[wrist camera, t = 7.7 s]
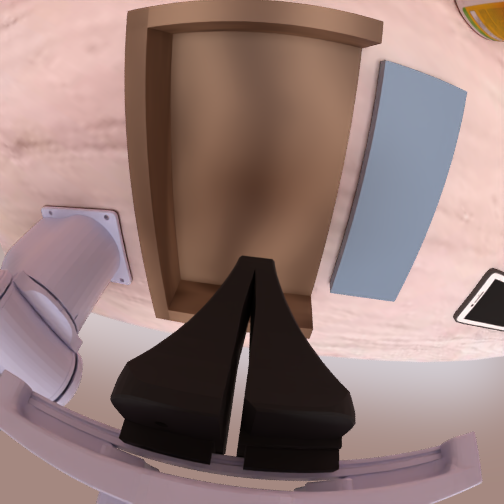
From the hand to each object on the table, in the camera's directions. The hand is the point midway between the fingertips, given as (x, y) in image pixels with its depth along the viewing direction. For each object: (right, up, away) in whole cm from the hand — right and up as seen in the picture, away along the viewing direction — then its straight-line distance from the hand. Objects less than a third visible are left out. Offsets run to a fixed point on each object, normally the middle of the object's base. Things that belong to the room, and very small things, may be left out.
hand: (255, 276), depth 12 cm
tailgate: (+7, +6, +7) cm, 11 cm away
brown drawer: (0, +6, +7) cm, 10 cm away
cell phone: (+30, -5, +12) cm, 33 cm away
